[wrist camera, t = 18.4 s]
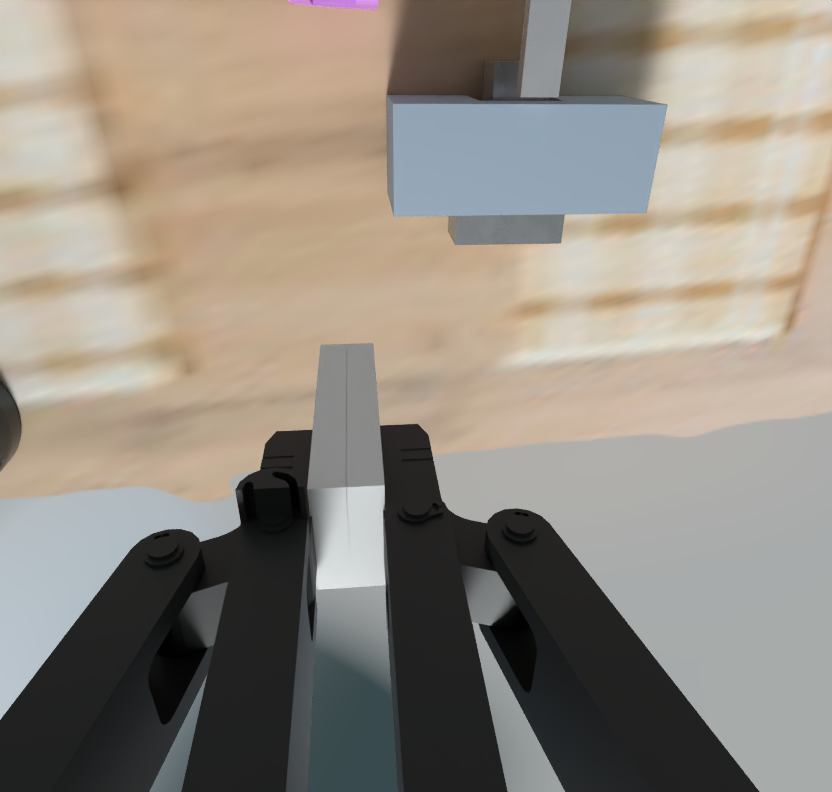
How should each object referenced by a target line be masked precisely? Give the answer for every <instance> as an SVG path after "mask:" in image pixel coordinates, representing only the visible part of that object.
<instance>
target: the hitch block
mask: <svg viewBox="0 0 832 792" xmlns="http://www.w3.org/2000/svg"><path fill="white" fill-rule="evenodd" d="M386 101H387V181H388V196H389V200H390V204H391V207H392V211H393V215H394V217H396V216H474V215H552V214H630V213H647V208H648V203H649V198H650V193H651V187H652V182H653V177H654V172H655V167H656V162H657V157H658V151H659V146H660V141H661V136H662V131H663V126H664V121H665V115H666V110H667V104H661V103H656V102H651V101H646V100H640V99H635V98H630V97H625V96H559V97H549V101H479V100H476V99H474V98H472V97H470V96H467V95H386Z"/></svg>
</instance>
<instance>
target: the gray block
mask: <svg viewBox="0 0 832 792" xmlns="http://www.w3.org/2000/svg"><path fill="white" fill-rule="evenodd" d="M519 61H520V60H484V73H483V90H482V101H549V97H519V96H518V95H517V94H516V90H517V81H518V71H519ZM564 215H565V214H552V215H474V216H449V222H448V232H449V234H450V236H451V238H452V240H453V242H454V244H455V245H486V244H549V243H561V238H562V231H563V223H564Z"/></svg>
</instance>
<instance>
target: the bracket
mask: <svg viewBox="0 0 832 792" xmlns="http://www.w3.org/2000/svg"><path fill="white" fill-rule="evenodd" d="M288 1H289V2H291V3H292V4H294V5H308V6H322V7H335V8H349V9H363V10H375V9H376V8H377V7H378V0H288Z"/></svg>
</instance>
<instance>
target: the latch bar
mask: <svg viewBox="0 0 832 792" xmlns="http://www.w3.org/2000/svg"><path fill="white" fill-rule="evenodd" d="M571 2H572V0H526V1H525V11H524V21H523V31H522V41H521V51H520V61H519V71H518V81H517V90H516V94H517V95H518V96H519V97H559V90H560V83H561V75H562V68H563V61H564V53H565V46H566V39H567V31H568V24H569V17H570V9H571Z"/></svg>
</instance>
